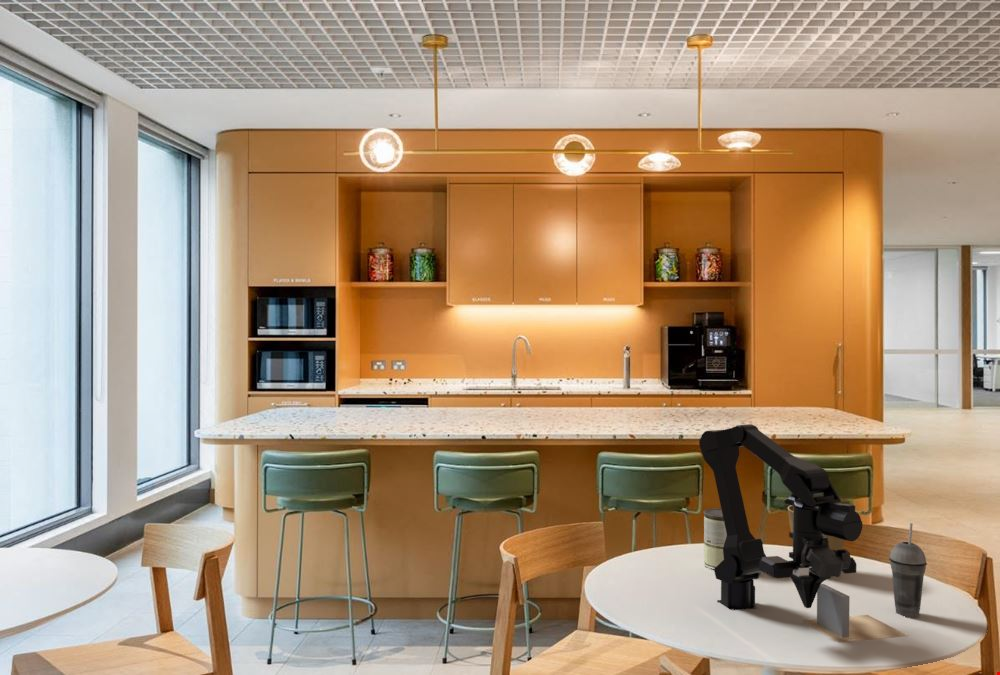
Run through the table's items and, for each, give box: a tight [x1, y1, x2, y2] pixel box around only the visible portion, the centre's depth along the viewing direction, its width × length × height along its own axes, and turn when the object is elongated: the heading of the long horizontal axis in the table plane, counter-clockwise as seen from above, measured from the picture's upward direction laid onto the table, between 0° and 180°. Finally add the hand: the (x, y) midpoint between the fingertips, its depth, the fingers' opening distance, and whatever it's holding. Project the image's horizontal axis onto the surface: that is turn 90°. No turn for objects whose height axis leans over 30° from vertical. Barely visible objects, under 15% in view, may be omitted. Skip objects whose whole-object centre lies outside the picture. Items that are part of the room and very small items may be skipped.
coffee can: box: [703, 507, 727, 570], centre depth 207 cm, size 10×10×14 cm
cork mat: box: [801, 614, 910, 643], centre depth 162 cm, size 16×12×1 cm
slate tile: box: [816, 583, 851, 637], centre depth 161 cm, size 2×8×8 cm, turn 14°
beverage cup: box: [888, 522, 928, 618], centre depth 172 cm, size 7×7×20 cm
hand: (807, 607), depth 159 cm, fingers closed
